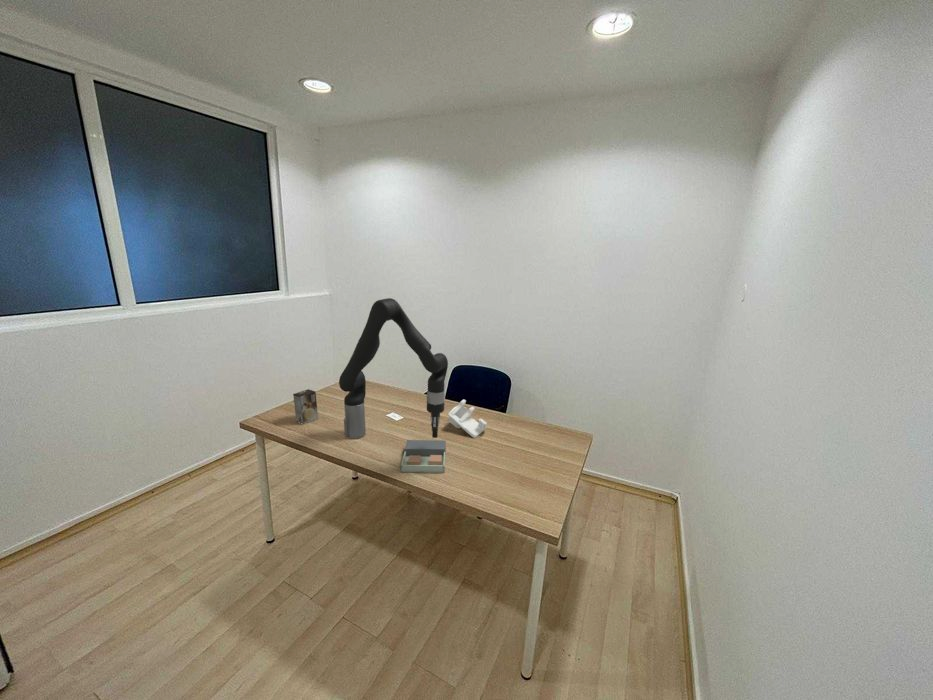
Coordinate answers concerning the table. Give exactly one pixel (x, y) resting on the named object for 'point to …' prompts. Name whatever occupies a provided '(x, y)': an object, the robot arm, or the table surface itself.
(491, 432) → the table surface
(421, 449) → the grey flat block
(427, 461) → the tray
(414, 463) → the tile left
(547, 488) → the table surface
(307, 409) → the coffee box
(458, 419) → the tape dispenser
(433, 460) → the tile right
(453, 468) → the table surface
